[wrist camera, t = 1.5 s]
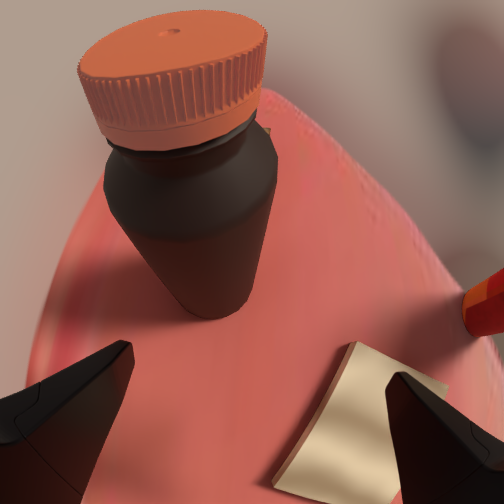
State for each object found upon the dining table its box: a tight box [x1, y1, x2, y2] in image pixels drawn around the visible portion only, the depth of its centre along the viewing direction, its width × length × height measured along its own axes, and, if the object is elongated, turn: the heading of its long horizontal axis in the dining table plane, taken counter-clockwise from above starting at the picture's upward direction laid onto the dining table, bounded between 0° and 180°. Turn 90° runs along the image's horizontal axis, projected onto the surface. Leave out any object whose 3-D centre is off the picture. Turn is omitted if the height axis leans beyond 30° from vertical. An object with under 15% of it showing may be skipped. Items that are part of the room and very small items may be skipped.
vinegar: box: [77, 10, 278, 319], centre depth 14 cm, size 7×7×20 cm
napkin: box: [271, 341, 449, 504], centre depth 18 cm, size 14×12×2 cm
